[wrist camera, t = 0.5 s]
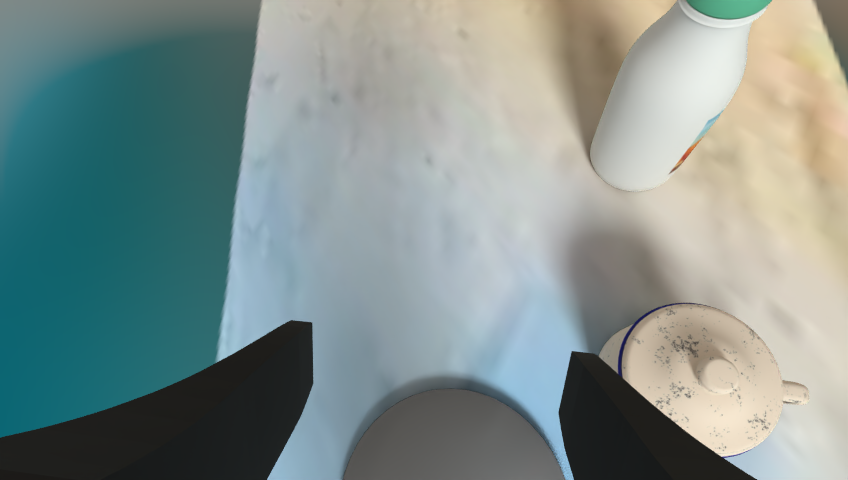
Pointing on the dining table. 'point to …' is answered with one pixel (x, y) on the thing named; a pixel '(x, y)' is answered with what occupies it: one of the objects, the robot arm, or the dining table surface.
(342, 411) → the dining table surface
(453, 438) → the slate plate
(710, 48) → the milk bottle
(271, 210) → the dining table surface
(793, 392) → the teacup with lid
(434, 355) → the dining table surface
